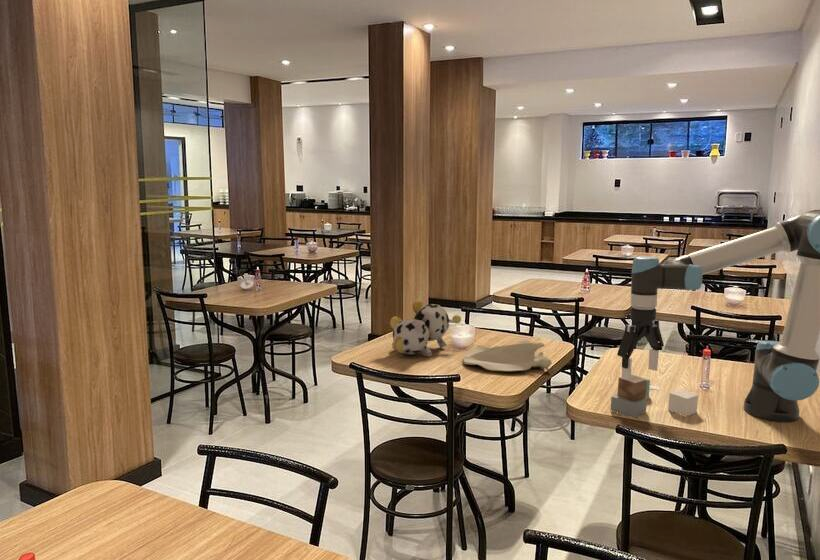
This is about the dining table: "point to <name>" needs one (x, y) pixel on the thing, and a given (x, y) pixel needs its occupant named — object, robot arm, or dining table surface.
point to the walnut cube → (632, 388)
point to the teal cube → (646, 386)
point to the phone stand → (654, 387)
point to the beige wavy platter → (508, 357)
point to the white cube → (683, 402)
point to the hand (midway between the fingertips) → (639, 373)
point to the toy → (421, 329)
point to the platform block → (628, 406)
